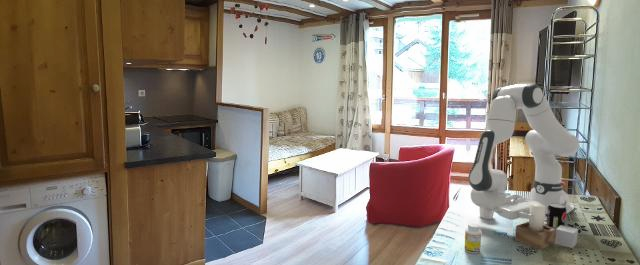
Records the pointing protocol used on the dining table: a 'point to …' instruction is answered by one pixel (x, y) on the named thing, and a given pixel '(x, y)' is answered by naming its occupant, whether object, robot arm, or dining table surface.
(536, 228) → the white pillar candle
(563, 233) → the grey block
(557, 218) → the beverage can
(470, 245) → the supplement bottle
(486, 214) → the shot glass
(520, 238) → the brown wooden open box
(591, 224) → the dining table surface
